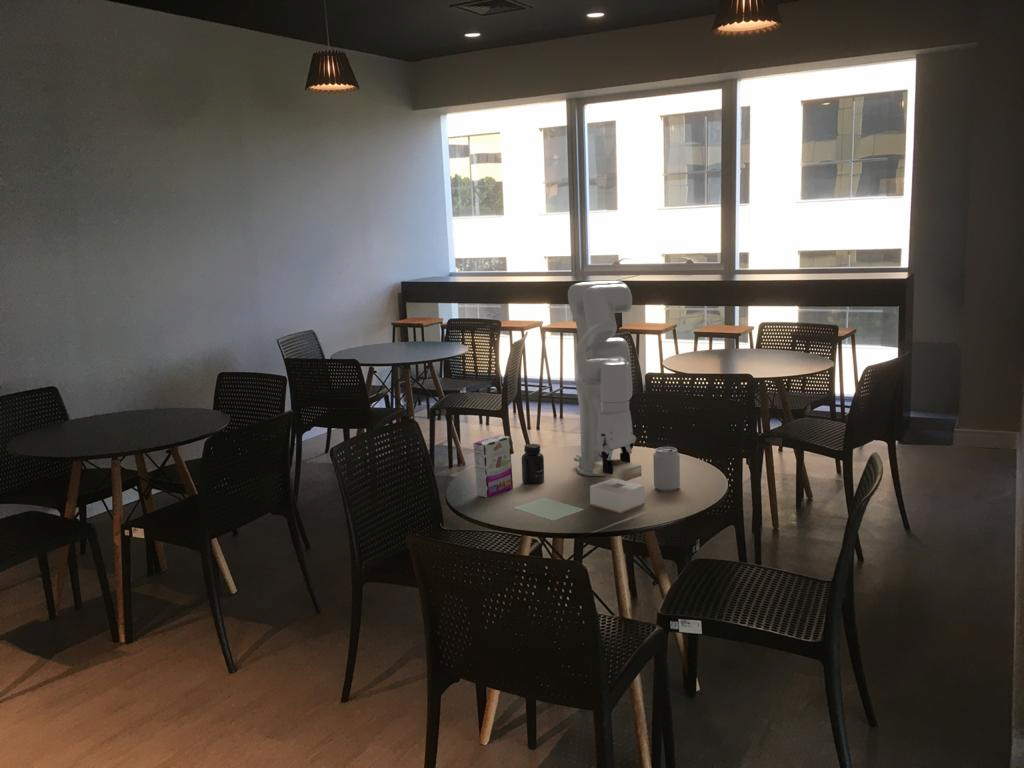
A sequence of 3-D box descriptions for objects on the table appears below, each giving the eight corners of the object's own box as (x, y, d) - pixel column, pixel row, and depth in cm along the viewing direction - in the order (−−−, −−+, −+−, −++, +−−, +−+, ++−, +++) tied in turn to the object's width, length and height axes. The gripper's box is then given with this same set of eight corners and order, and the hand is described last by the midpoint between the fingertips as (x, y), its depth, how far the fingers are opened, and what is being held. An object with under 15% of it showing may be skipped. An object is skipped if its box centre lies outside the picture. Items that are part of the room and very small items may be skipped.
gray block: (590, 506, 234) (589, 486, 233) (614, 498, 240) (613, 478, 239) (620, 515, 226) (620, 493, 224) (644, 506, 232) (644, 485, 231)
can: (679, 492, 243) (679, 452, 241) (653, 492, 244) (652, 452, 242) (680, 484, 250) (679, 445, 248) (654, 484, 252) (653, 445, 249)
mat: (513, 509, 234) (512, 507, 234) (543, 499, 242) (543, 497, 242) (553, 522, 222) (553, 520, 222) (584, 511, 230) (584, 509, 230)
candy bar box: (501, 486, 256) (498, 434, 253) (513, 489, 253) (511, 436, 250) (475, 496, 248) (472, 442, 245) (487, 499, 245) (484, 444, 242)
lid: (592, 473, 233) (592, 459, 233) (608, 468, 238) (608, 454, 237) (625, 481, 224) (625, 466, 224) (641, 475, 229) (641, 461, 228)
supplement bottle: (542, 486, 254) (541, 448, 252) (520, 486, 255) (519, 448, 253) (546, 480, 261) (544, 442, 259) (524, 479, 262) (522, 442, 260)
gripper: (625, 400, 236) (626, 461, 239) (583, 410, 225) (585, 474, 228) (646, 403, 231) (647, 466, 234) (603, 413, 219) (605, 479, 222)
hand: (616, 470), depth 231 cm, fingers closed on lid, 6 cm apart
